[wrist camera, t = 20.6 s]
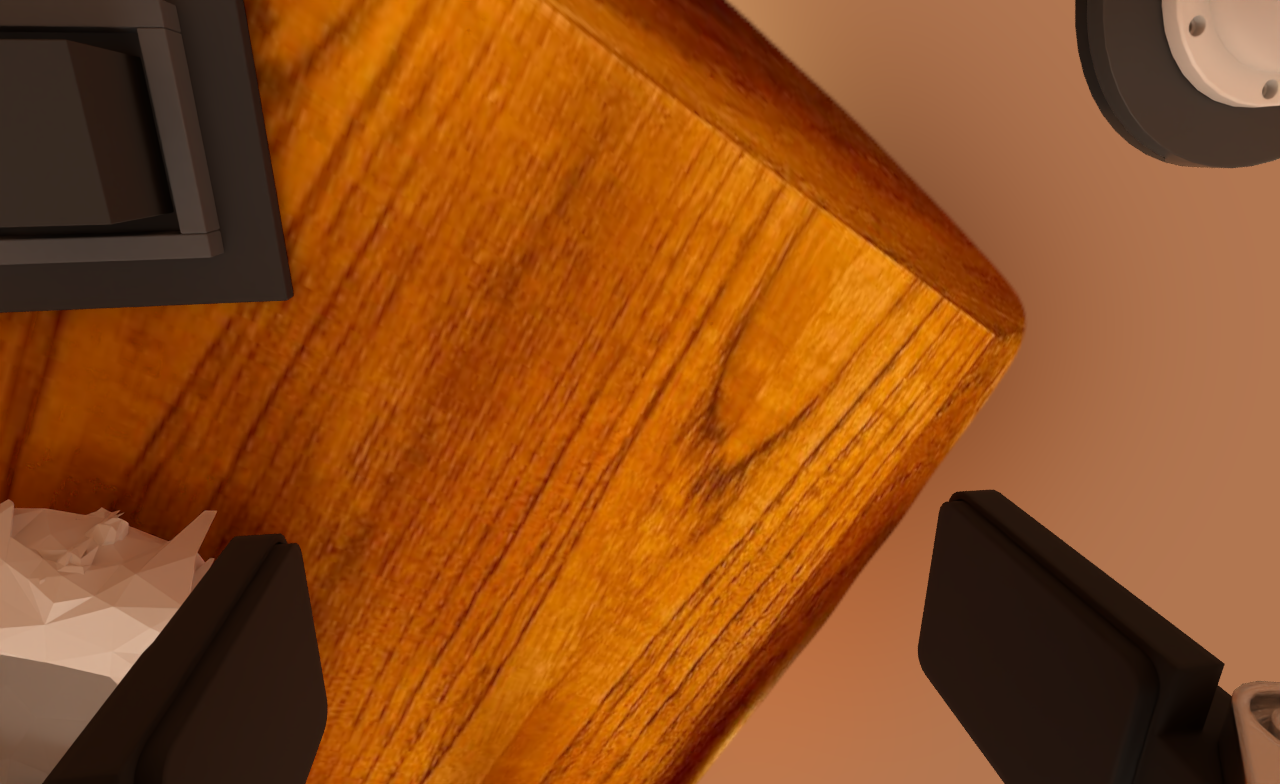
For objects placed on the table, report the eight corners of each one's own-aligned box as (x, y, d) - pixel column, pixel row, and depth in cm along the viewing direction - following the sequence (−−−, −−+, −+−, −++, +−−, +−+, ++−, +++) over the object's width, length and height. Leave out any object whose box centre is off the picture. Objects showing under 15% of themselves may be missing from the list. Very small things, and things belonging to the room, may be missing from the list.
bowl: (318, 795, 42) (260, 980, 33) (-93, 782, 38) (-295, 990, 29) (352, 475, 36) (293, 588, 27) (-131, 417, 32) (-399, 528, 23)
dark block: (-29, 56, 28) (-141, 38, 23) (140, 56, 29) (65, 39, 24) (16, 216, 30) (-78, 229, 25) (174, 212, 31) (111, 224, 26)
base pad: (-168, -61, 27) (-234, -81, 24) (235, -52, 29) (209, -70, 26) (-47, 310, 31) (-93, 323, 29) (294, 296, 33) (277, 307, 31)
